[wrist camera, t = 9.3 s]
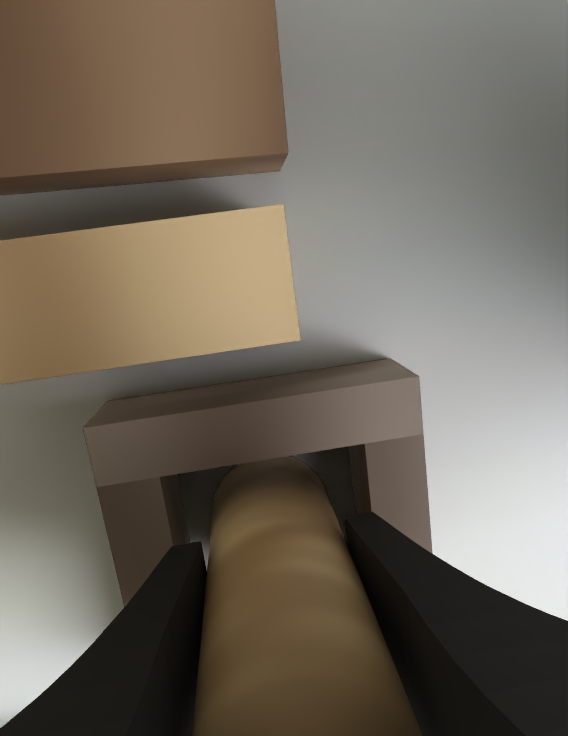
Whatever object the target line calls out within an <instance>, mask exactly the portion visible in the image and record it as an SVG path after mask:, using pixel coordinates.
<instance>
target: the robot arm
mask: <svg viewBox="0 0 568 736" xmlns="http://www.w3.org/2000/svg"><path fill="white" fill-rule="evenodd" d="M345 526H346V534H347V543H348V548H349V551H350V553H351V556H352V558H353V561H354V563H355V566H356V568H357V571H358V573H359V576H360V579H361V581H362V584H363V586H364V589H365V591H366V594H367V596H368V599H369V601H370V604H371V606H372V609H373V611H374V614H375V616H376V619H377V621H378V624H379V627H380V629H381V632H382V634H383V637H384V639H385V642H386V644H387V647H388V649H389V652H390V654H391V657H392V659H393V662H394V664H395V667H396V669H397V672H398V675H399V677H400V680H401V682H402V685H403V687H404V690H405V692H406V695H407V697H408V700H409V702H410V705H411V707H412V710H413V712H414V715H415V717H416V720H417V722H418V725H419V728H420V730H421V733H422V736H568V621H566V620H564V619H561V618H558V617H556V616H553V615H550V614H548V613H545V612H543V611H541V610H538V609H536V608H533V607H531V606H529V605H526V604H524V603H522V602H520V601H518V600H516V599H514V598H512V597H509V596H507V595H505V594H503V593H501V592H499V591H497V590H495V589H493V588H491V587H489V586H487V585H485V584H483V583H481V582H479V581H477V580H475V579H474V578H472V577H470V576H468V575H467V574H465V573H463V572H461V571H460V570H458V569H456V568H455V567H453V566H451V565H449V564H448V563H446V562H445V561H443V560H441V559H440V558H438V557H437V556H435V555H433V554H432V553H430V552H429V551H427V550H426V549H424V548H423V547H421V546H420V545H418V544H417V543H415V542H414V541H413V540H411V539H410V538H408V537H407V536H406V535H404V534H403V533H401V532H400V531H399V530H397V529H396V528H394V527H393V526H392V525H390V524H389V523H388V522H386V521H385V520H384V519H382V518H381V517H379V516H378V515H377V514H375V513H374V512H368V513H362V514H356V515H351V516H345ZM206 578H207V570H206V565H205V560H204V554H203V549H202V544H201V541H199V542H193V543H188V544H182V545H176V546H172V547H171V548H170V549H169V550H168V552H167V553H166V554H165V555H164V557H163V558H162V559H161V561H160V562H159V563H158V565H157V566H156V567H155V569H154V570H153V571H152V572H151V574H150V575H149V576H148V578H147V579H146V580H145V582H144V583H143V584H142V586H141V587H140V588H139V590H138V591H137V592H136V593H135V595H134V596H133V597H132V598H131V600H130V601H129V602H128V603H127V605H126V606H125V607H124V608H123V610H122V611H121V612H120V613H119V614H118V615H117V617H116V618H115V619H114V620H113V621H112V622H111V623H110V625H109V626H108V627H107V628H106V629H105V630H104V631H103V633H102V634H101V635H100V636H99V637H98V638H97V639H96V640H95V642H94V643H93V644H92V645H91V646H90V647H89V648H88V649H87V650H86V651H85V652H84V653H83V654H82V655H81V656H80V657H79V658H78V659H77V660H76V661H75V663H74V664H73V665H72V666H71V667H69V668H68V669H67V670H66V671H65V672H64V673H63V674H62V675H61V676H60V677H59V678H58V679H57V680H56V681H55V682H54V683H53V684H52V685H51V686H49V687H48V688H47V689H46V690H45V691H44V692H43V693H42V694H41V695H40V696H39V697H37V698H36V699H35V700H34V701H33V702H31V703H30V704H29V705H28V706H27V707H25V708H24V709H23V710H22V711H21V712H20V713H18V714H17V715H16V716H15V717H14V718H12V719H11V720H10V721H9V722H8V723H6V724H5V725H4V726H3V727H2V728H0V736H192V734H193V723H194V712H195V700H196V689H197V678H198V667H199V656H200V645H201V634H202V623H203V612H204V600H205V589H206Z"/></svg>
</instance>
